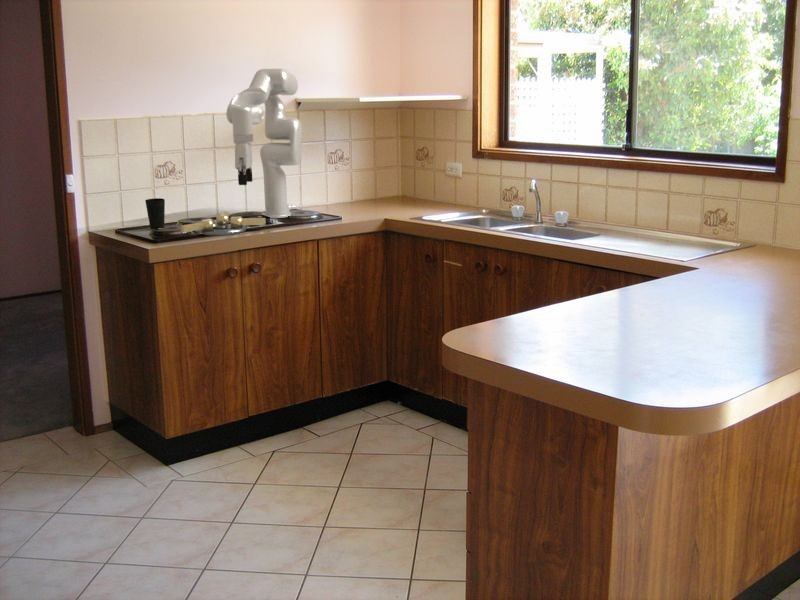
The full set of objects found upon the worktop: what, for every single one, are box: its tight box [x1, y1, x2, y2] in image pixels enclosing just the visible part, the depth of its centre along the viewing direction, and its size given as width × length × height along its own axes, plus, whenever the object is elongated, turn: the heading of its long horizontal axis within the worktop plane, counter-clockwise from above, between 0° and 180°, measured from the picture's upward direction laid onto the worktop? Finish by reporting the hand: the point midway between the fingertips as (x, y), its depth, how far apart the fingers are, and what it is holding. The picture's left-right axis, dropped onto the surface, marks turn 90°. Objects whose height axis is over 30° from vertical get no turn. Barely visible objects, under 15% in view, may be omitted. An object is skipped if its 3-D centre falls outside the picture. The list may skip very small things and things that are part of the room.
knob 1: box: [216, 210, 230, 225], centre depth 373 cm, size 14×5×4 cm, turn 3°
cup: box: [144, 197, 166, 230], centre depth 368 cm, size 8×8×12 cm
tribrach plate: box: [195, 222, 247, 237], centre depth 363 cm, size 20×20×3 cm
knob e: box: [180, 218, 214, 233], centre depth 355 cm, size 14×5×4 cm, turn 138°
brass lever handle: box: [229, 216, 267, 228], centre depth 363 cm, size 14×5×4 cm, turn 93°
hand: (245, 183), depth 353 cm, fingers open, 9 cm apart
